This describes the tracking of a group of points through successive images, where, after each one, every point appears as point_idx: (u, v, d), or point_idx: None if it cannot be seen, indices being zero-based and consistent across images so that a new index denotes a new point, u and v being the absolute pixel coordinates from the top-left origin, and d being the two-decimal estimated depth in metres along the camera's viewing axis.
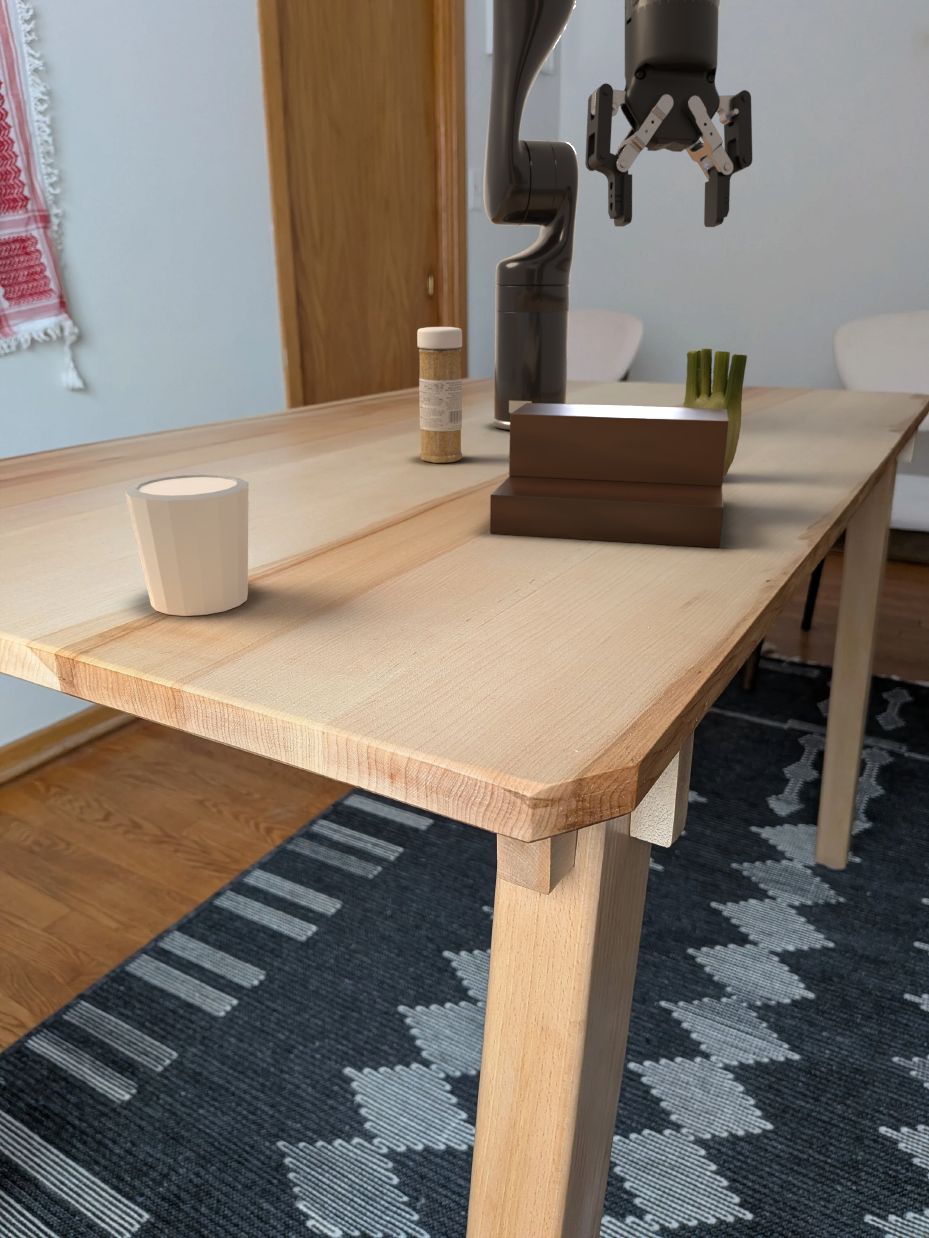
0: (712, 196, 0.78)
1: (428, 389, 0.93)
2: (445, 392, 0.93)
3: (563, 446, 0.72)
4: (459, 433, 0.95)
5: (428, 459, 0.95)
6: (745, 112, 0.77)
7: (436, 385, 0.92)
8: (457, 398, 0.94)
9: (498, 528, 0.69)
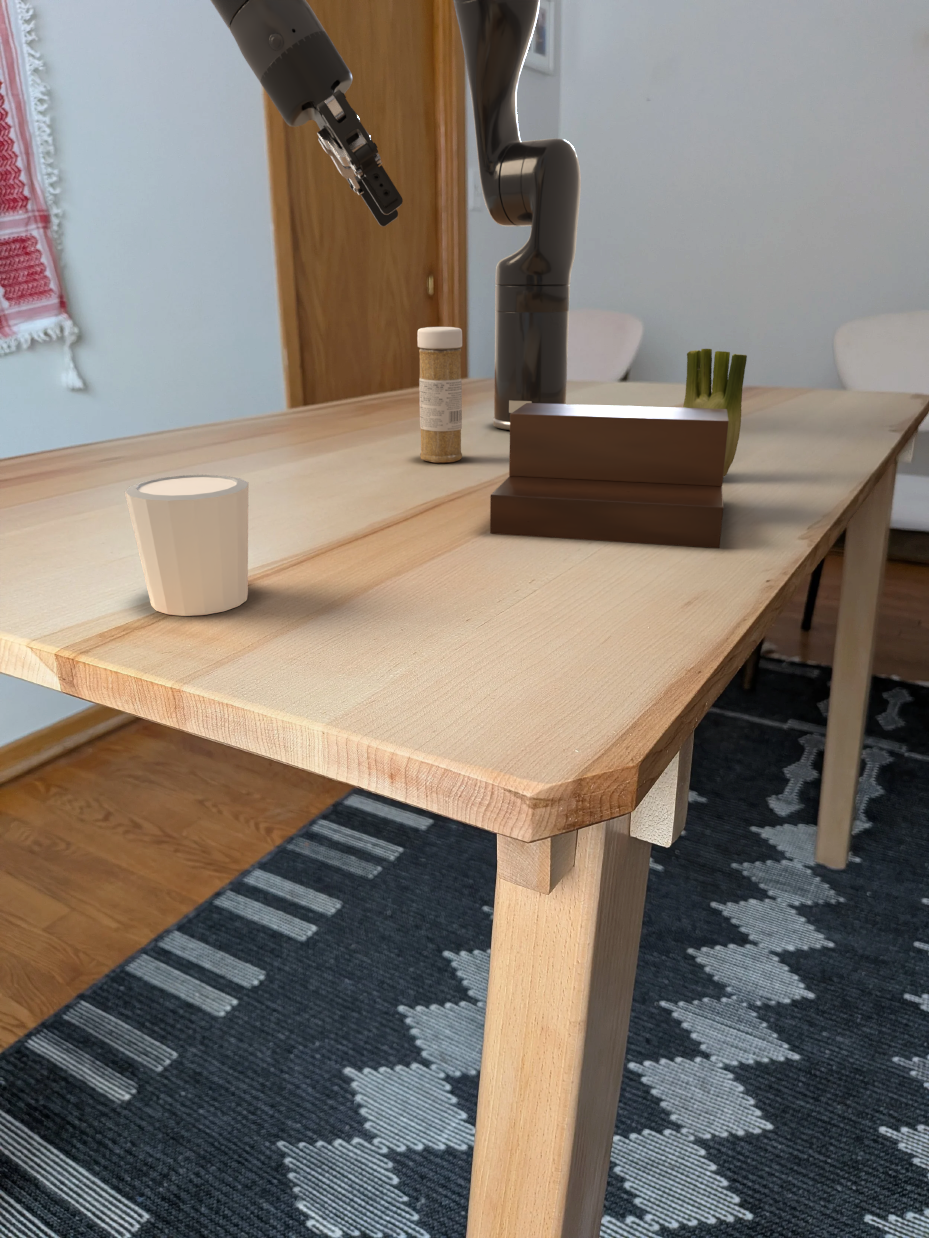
0: None
1: (428, 389, 0.93)
2: (445, 392, 0.93)
3: (563, 446, 0.72)
4: (459, 433, 0.95)
5: (428, 459, 0.95)
6: (327, 123, 0.80)
7: (436, 385, 0.92)
8: (457, 398, 0.94)
9: (498, 528, 0.69)
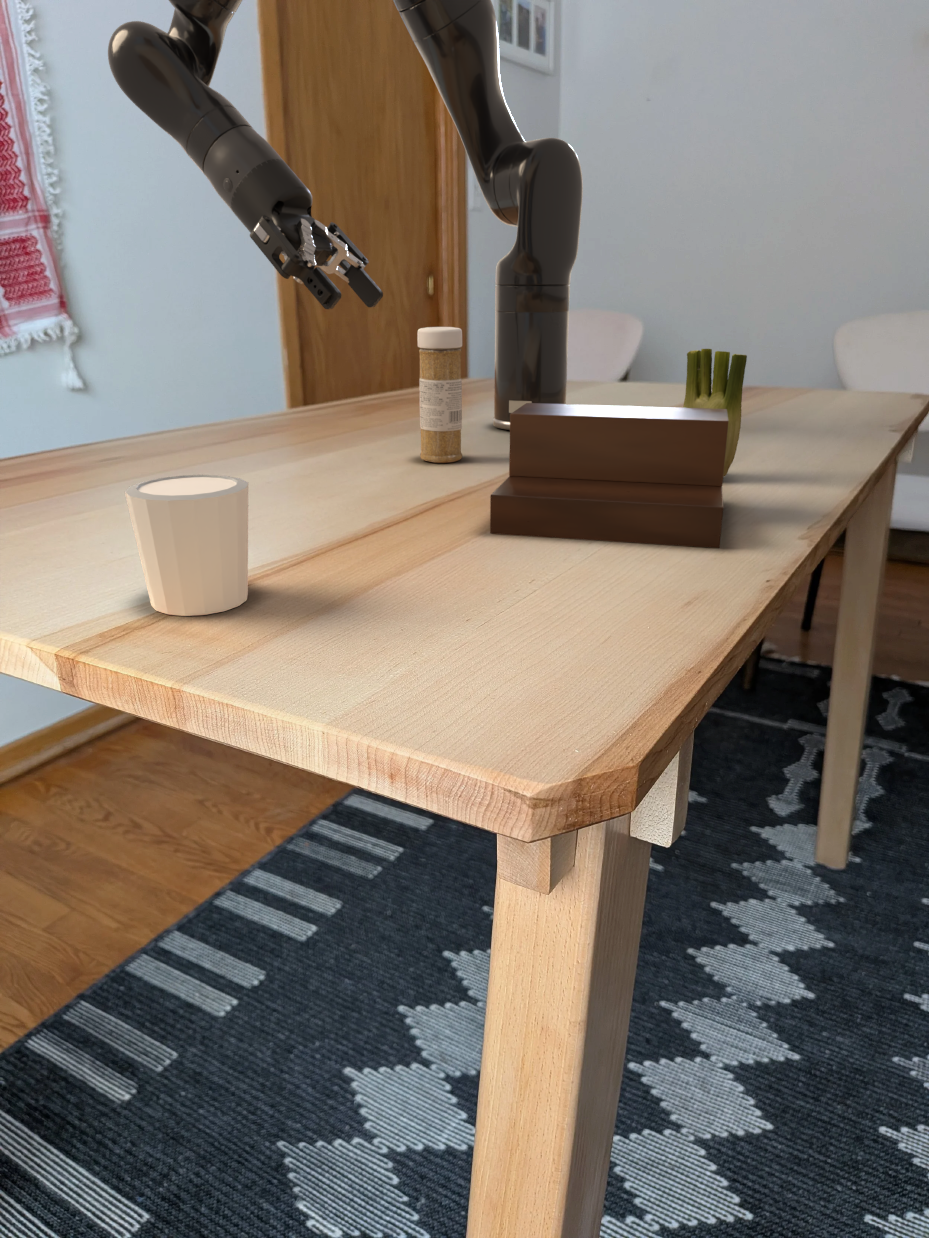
0: None
1: (428, 389, 0.93)
2: (445, 392, 0.93)
3: (563, 446, 0.72)
4: (459, 433, 0.95)
5: (428, 459, 0.95)
6: None
7: (436, 385, 0.92)
8: (457, 398, 0.94)
9: (498, 528, 0.69)
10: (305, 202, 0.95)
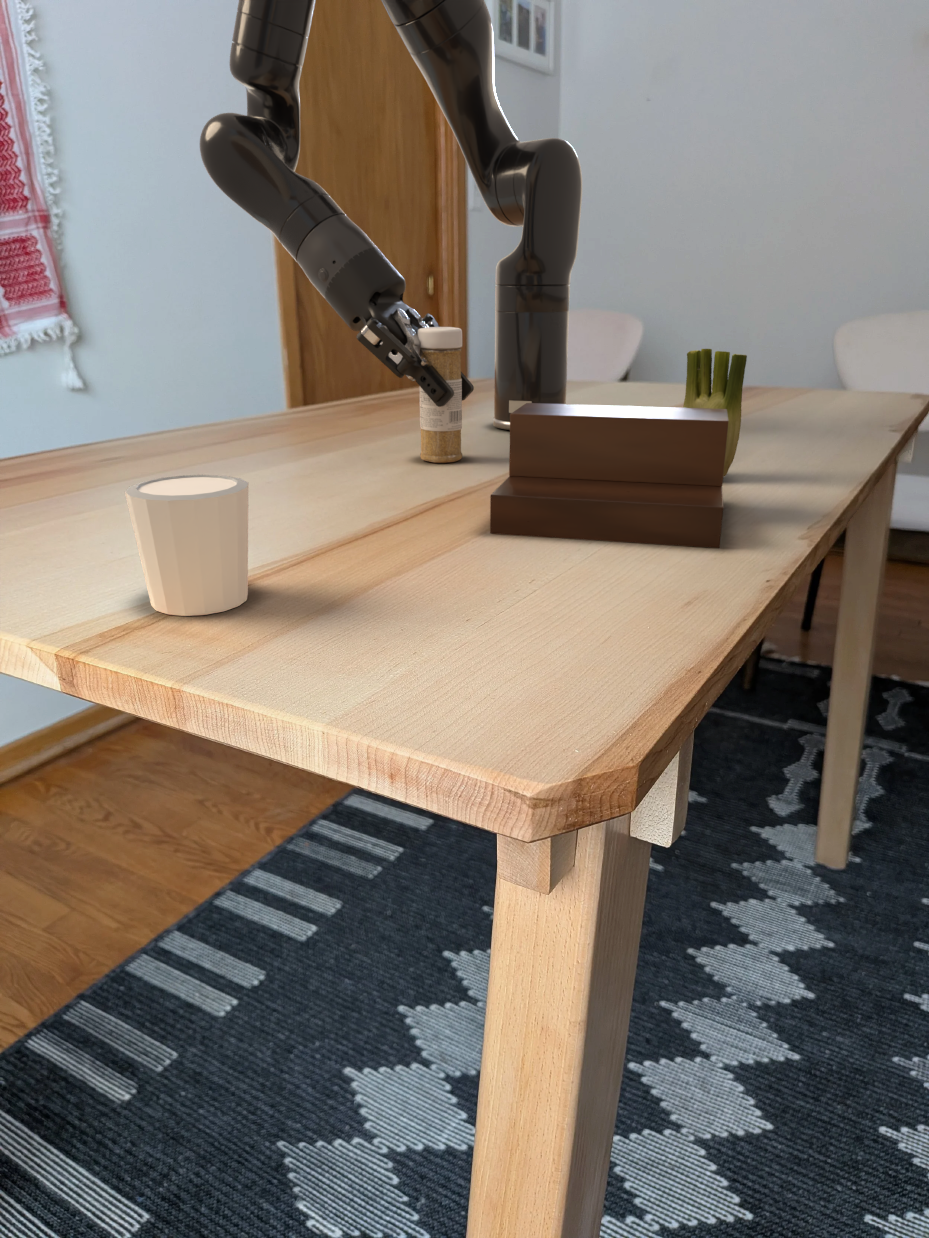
0: None
1: None
2: None
3: (563, 446, 0.72)
4: (459, 433, 0.95)
5: (428, 459, 0.95)
6: None
7: None
8: (457, 399, 0.94)
9: (498, 528, 0.69)
10: (399, 290, 0.94)
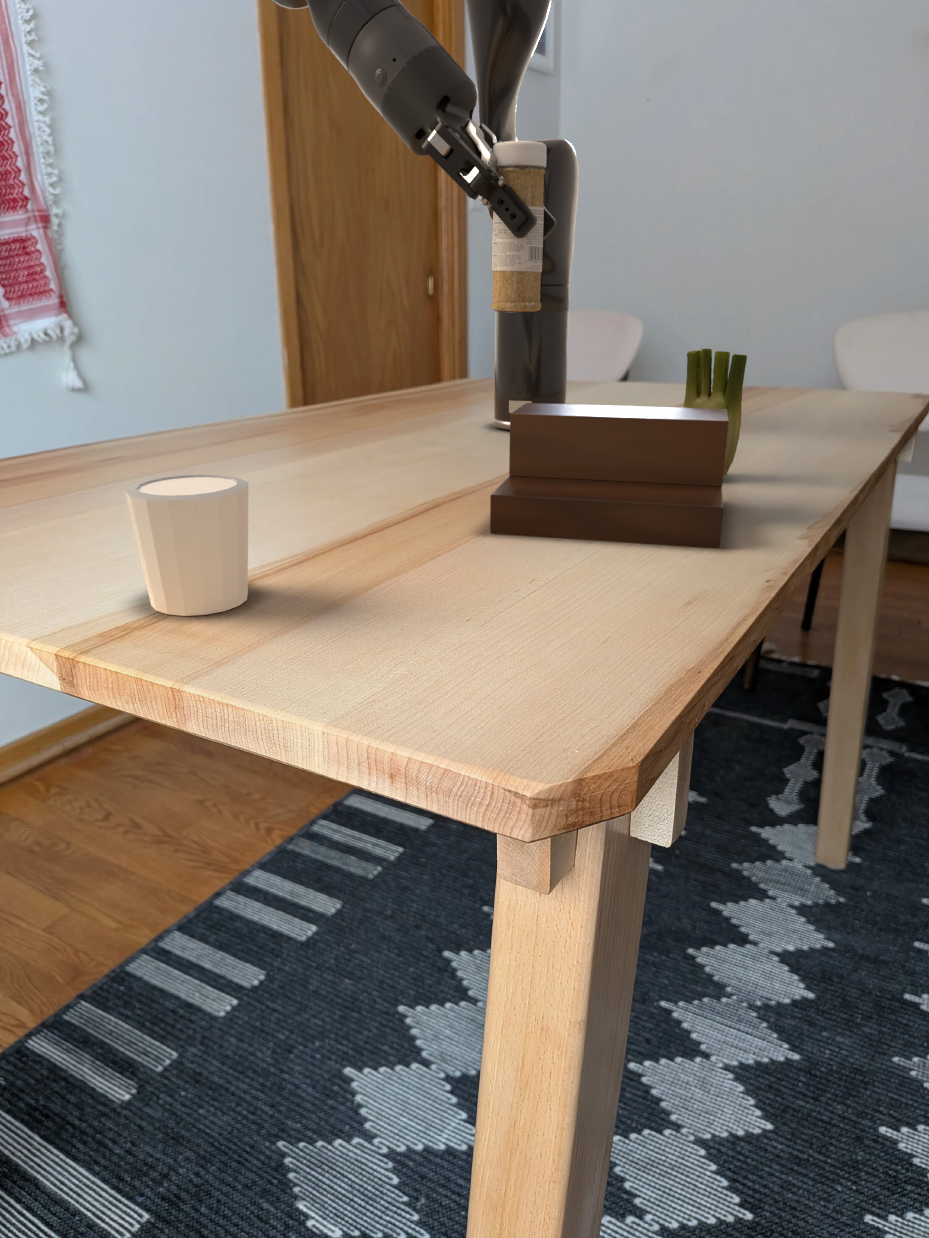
0: None
1: None
2: None
3: (563, 446, 0.72)
4: (539, 276, 0.80)
5: (502, 307, 0.80)
6: None
7: None
8: (539, 231, 0.78)
9: (498, 528, 0.69)
10: (470, 101, 0.79)
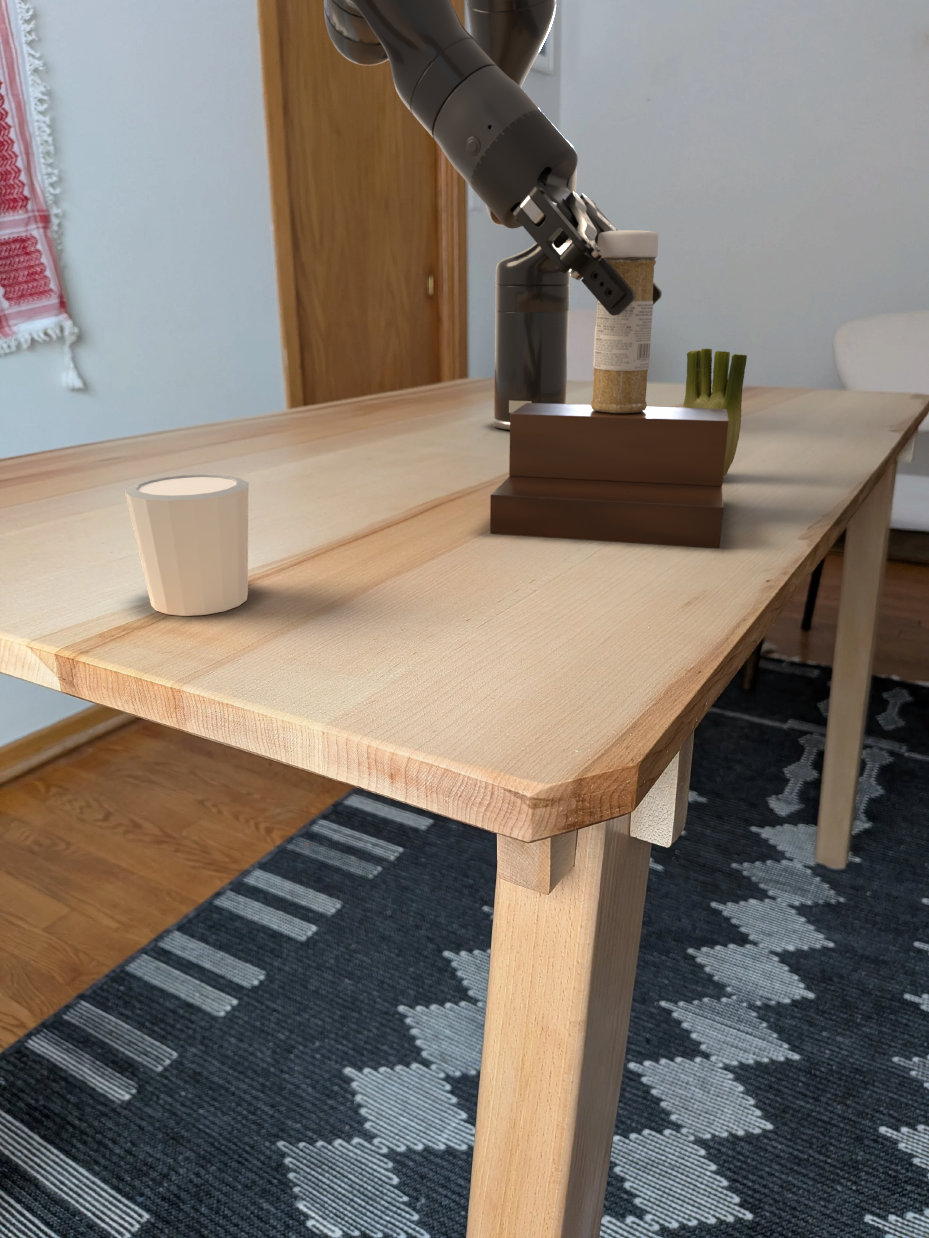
0: None
1: None
2: (635, 317, 0.69)
3: (563, 446, 0.72)
4: (646, 375, 0.72)
5: (605, 409, 0.72)
6: None
7: None
8: (648, 327, 0.70)
9: (498, 528, 0.69)
10: (570, 170, 0.71)
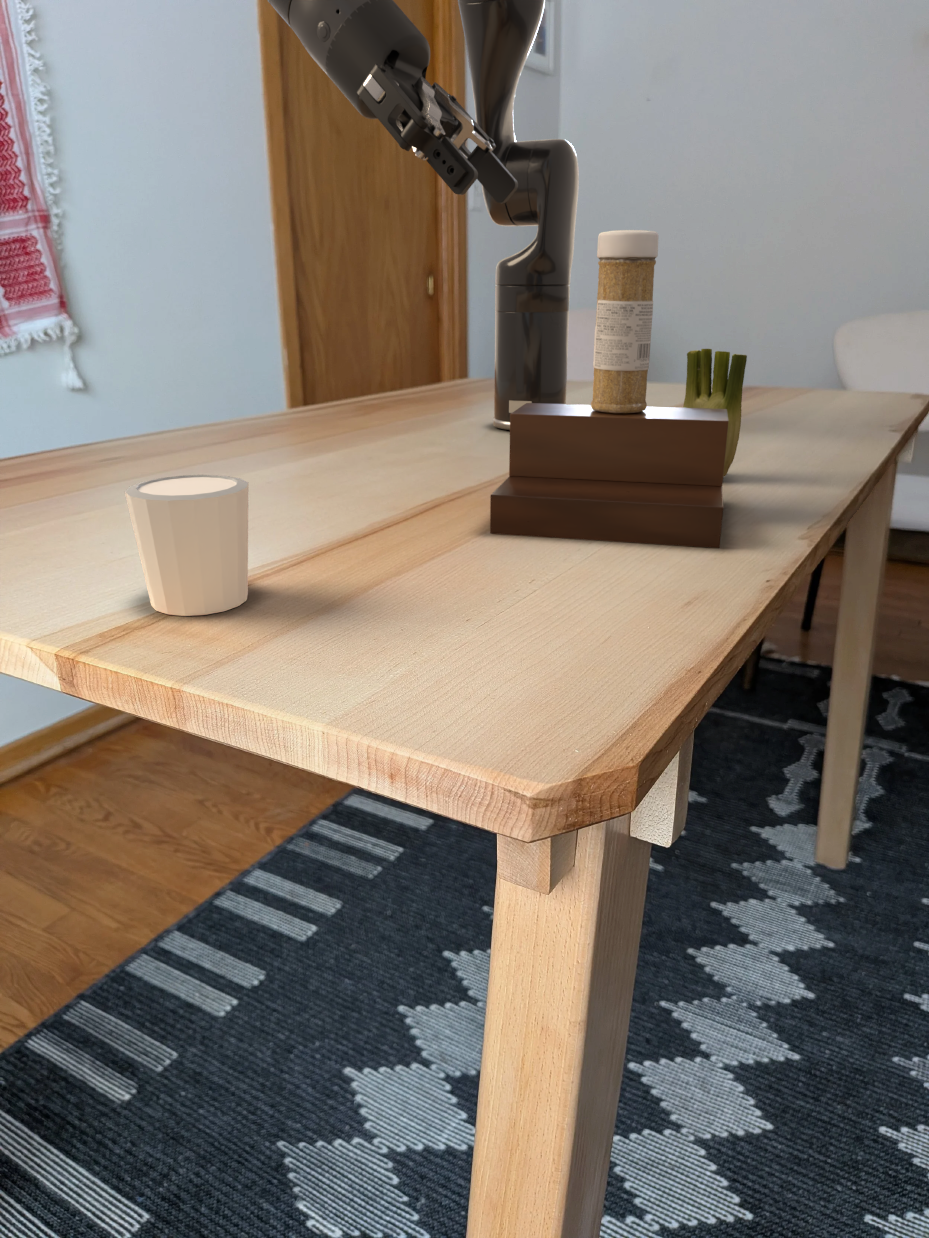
0: None
1: (613, 313, 0.69)
2: (636, 317, 0.69)
3: (563, 446, 0.72)
4: (646, 375, 0.72)
5: (605, 409, 0.72)
6: None
7: (624, 308, 0.69)
8: (648, 327, 0.70)
9: (498, 528, 0.69)
10: (422, 59, 0.72)
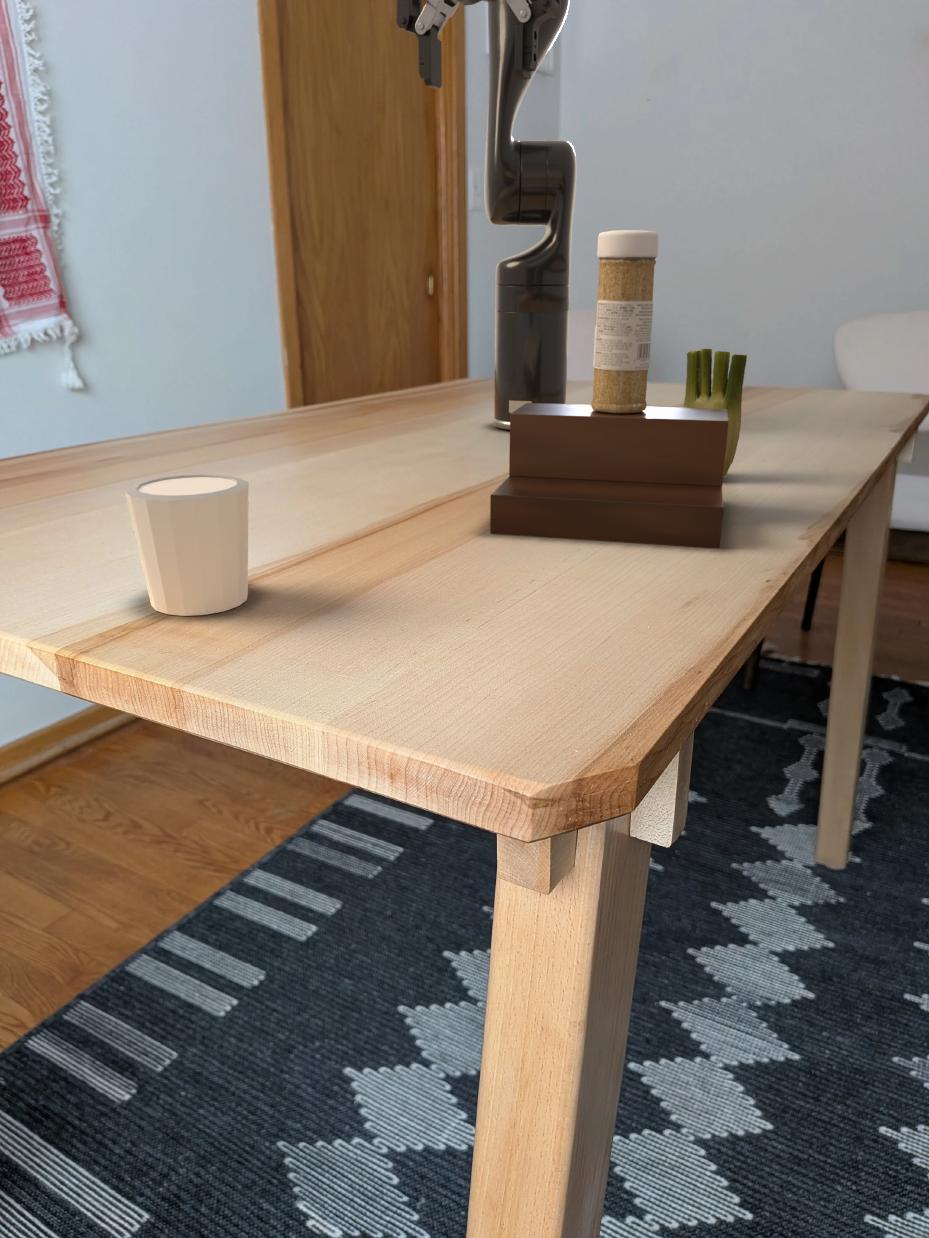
0: None
1: (613, 313, 0.69)
2: (636, 317, 0.69)
3: (563, 446, 0.72)
4: (646, 375, 0.72)
5: (605, 409, 0.72)
6: None
7: (624, 308, 0.69)
8: (648, 327, 0.70)
9: (498, 528, 0.69)
10: None
